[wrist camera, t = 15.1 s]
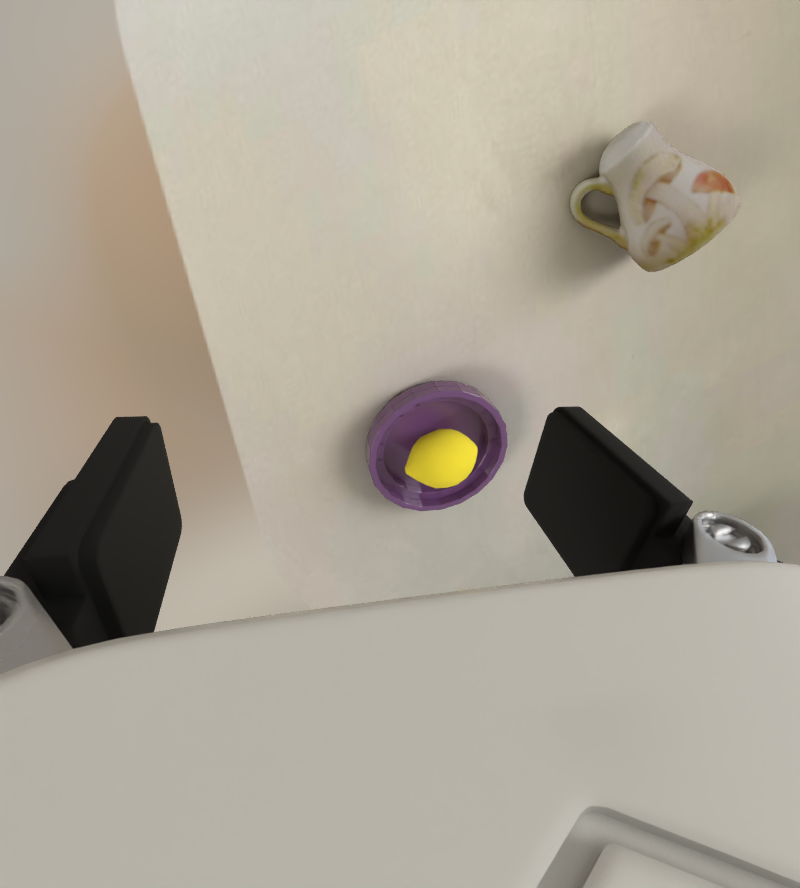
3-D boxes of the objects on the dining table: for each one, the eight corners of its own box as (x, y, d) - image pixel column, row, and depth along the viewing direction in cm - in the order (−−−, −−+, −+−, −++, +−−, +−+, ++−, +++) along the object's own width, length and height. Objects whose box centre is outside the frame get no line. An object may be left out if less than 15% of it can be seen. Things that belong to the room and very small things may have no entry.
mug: (632, 84, 30) (790, 108, 25) (627, 197, 39) (745, 233, 34) (560, 166, 31) (704, 207, 25) (570, 262, 39) (680, 307, 34)
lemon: (463, 409, 41) (484, 439, 37) (471, 454, 44) (491, 487, 40) (392, 431, 41) (404, 464, 36) (404, 475, 44) (417, 510, 39)
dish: (362, 498, 45) (366, 515, 43) (368, 379, 38) (373, 392, 36) (483, 490, 48) (492, 506, 46) (509, 378, 41) (521, 390, 39)
